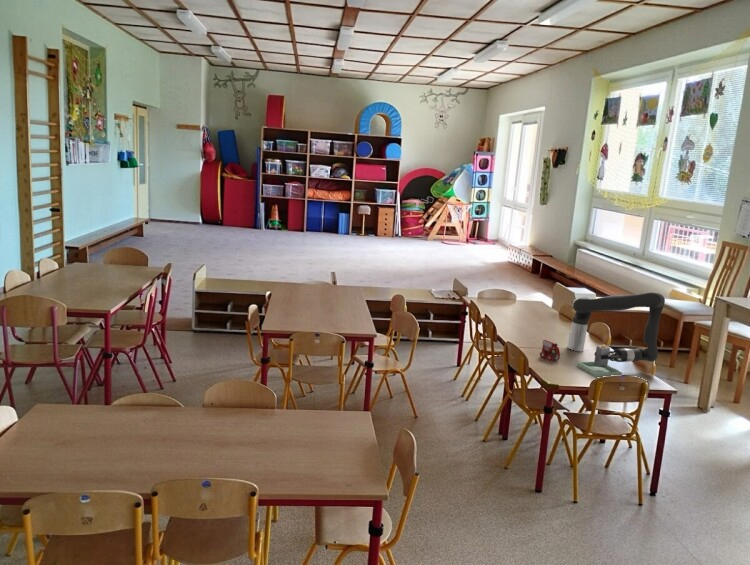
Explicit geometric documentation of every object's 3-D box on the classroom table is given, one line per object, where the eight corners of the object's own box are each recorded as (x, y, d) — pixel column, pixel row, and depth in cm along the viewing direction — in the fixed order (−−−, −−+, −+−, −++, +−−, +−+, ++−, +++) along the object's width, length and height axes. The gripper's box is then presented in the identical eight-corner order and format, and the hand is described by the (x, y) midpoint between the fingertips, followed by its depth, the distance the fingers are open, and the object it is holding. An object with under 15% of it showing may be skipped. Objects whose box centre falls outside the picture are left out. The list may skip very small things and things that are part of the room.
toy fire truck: (554, 363, 347) (556, 346, 345) (537, 356, 357) (539, 339, 355) (561, 361, 351) (564, 344, 349) (544, 355, 361) (547, 338, 359)
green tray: (577, 366, 345) (577, 361, 344) (600, 366, 350) (601, 361, 349) (596, 378, 328) (597, 372, 328) (621, 377, 333) (622, 372, 332)
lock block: (593, 364, 340) (597, 344, 337) (601, 364, 341) (604, 344, 339) (599, 367, 335) (602, 347, 333) (607, 367, 336) (610, 346, 334)
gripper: (616, 344, 347) (591, 345, 342) (633, 352, 333) (607, 353, 329) (614, 357, 348) (589, 357, 344) (631, 365, 335) (605, 366, 330)
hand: (598, 355), depth 336 cm, fingers closed on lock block, 5 cm apart
